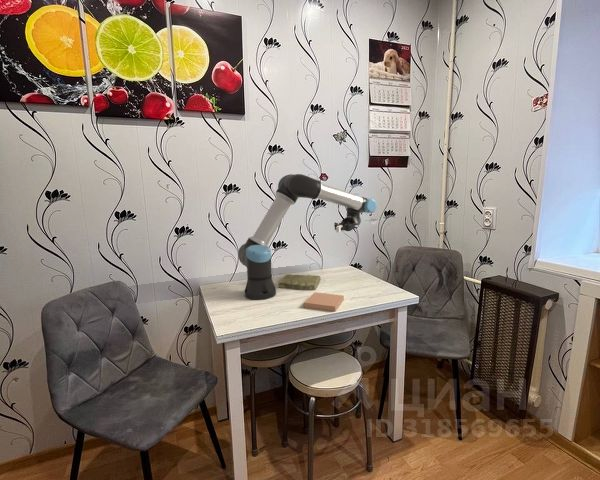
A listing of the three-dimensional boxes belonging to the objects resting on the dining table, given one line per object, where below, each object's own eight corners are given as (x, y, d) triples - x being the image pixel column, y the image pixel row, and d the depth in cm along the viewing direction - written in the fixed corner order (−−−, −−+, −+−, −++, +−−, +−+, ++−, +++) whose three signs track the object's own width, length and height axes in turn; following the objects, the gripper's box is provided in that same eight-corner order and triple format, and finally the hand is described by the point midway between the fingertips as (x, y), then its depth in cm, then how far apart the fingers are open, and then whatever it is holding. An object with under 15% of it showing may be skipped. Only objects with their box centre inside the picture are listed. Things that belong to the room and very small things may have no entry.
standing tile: (314, 297, 153) (304, 308, 140) (314, 292, 153) (303, 302, 140) (343, 301, 148) (335, 312, 135) (343, 295, 148) (335, 306, 135)
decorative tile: (285, 279, 184) (285, 273, 183) (320, 280, 180) (320, 274, 179) (276, 290, 166) (276, 283, 165) (315, 291, 162) (315, 285, 161)
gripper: (360, 230, 179) (350, 237, 157) (337, 229, 183) (324, 236, 162) (360, 217, 177) (350, 222, 156) (337, 216, 182) (324, 221, 161)
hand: (337, 229), depth 159 cm, fingers closed
